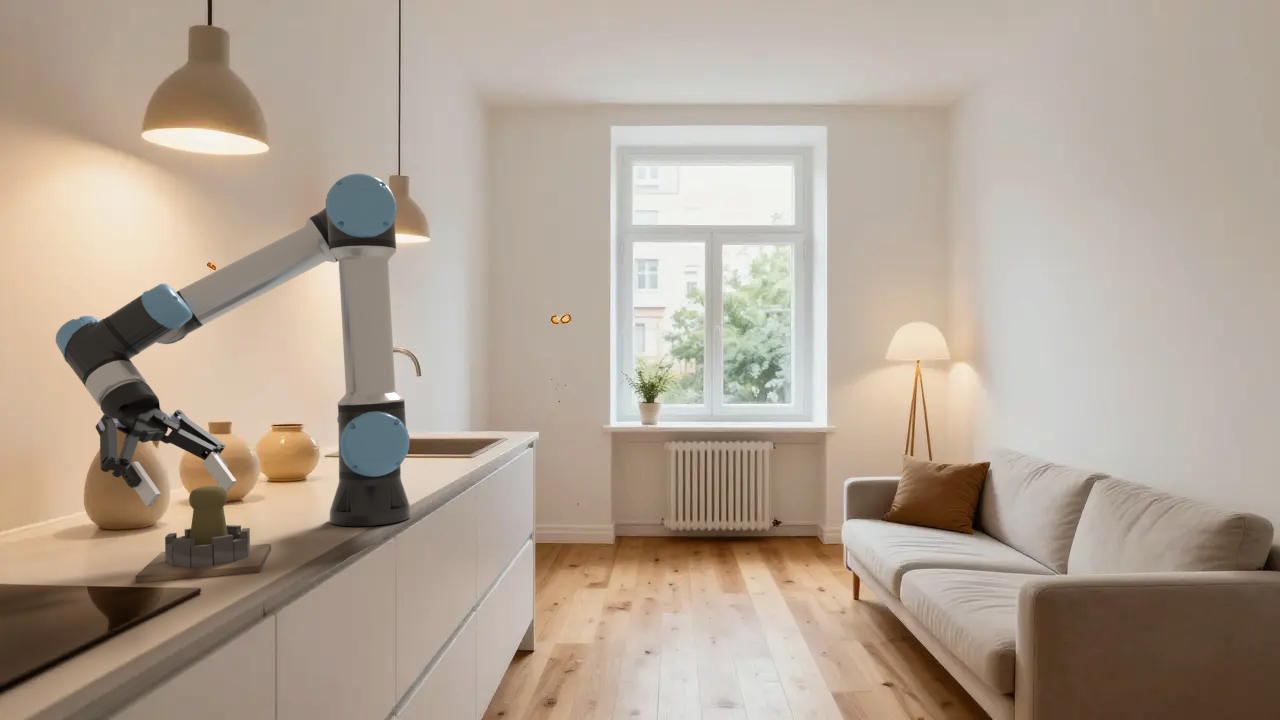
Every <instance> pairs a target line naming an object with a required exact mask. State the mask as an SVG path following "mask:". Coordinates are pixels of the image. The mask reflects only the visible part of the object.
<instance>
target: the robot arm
mask: <svg viewBox="0 0 1280 720" xmlns="http://www.w3.org/2000/svg"><path fill="white" fill-rule="evenodd" d="M397 214H398V207H397V201H396V198H395V196H394V194H393V192H392V190H391V189H390V187H389V186H388V184H386V183H385V182H384V181H383V180H381V179H380V178H378V177H375V176H374V175H370V174H367V173H352V174H348V175H345V176H343V177H341V178H340V179H338V180H337V181H335V183H334V184H333V185H332V186H331V188H329V191H328V193H327V194H326V199H325V207H324V208H323V209H322V210H321V211H318V212H317V213H316V214H314V215H311V216H310V217H308V218H307V219H306V222H305V225H304V226H303V227H300V228H299V229H297V230H295V231H293V232H291V233H288V234H287V235H285V236H283V237H281V238H279V239H278V240H275V241H273V242H271V243H269V244H268V245H264V246H263V247H261V248H259V249H258V250H255V251H254V252H253V251H252V252H251V253H249V254H248V255H245V256H243V257H242V258H240V259H238V260H235V261H234V262H232V263H230V264H228V265H226V266H224V267H222V268H220V269H218V270H216V271H214V272H213V273H210V274H208V275H206V276H204V277H202V278H200V279H199V280H197V281H194V282H193V283H191V284H189V285H186V286H185V287H183V288H181V289H179V290H178V291H176V290H175V289H173V288H172V287H171V286H170V285H169V284H167V283H159V284H158V285H156V286H154V287H152V288H151V289H149V290H145V291H144V292H143V293H142V294H141V295H139V296H137V297H136V298H134V299H133V300H131V301H130V302H128V303H127V304H125V305H124V306H122V307H120V308H119V309H118V310H116V311H114V312H113V313H111V314H109V315H108V316H106V317H105V318H101V319H100V318H98V317H95V316H92V315H82V316H80V317H79V318H76V319H75V318H73V319H70V320H68V321H66V322H65V323H64V324H62V326H61V327H59V329H58V330H57V332H56V335H55V344H56V346H57V348H58V349H59V351H60V353H61V354H62V357H63V358H64V361H65V362H66V363H67V364H68V365H69V367H70V368H71V369H72V371H73V372H74V374H75V375H76V376H77V377H78V379H79V380H80V381H81V383H82V384H83V386H84V387H85V388H86V390H87V391H88V393H89V394H90V396H91V398H92V399H93V400H94V402H95V403H96V404H97V405H98V407H100V411H101V412H102V413H103V415H102V416H101V418H100V419H99V421H98V422H97V424H96V425H95V429H96V431H97V433H98V435H99V449H100V451H99V452H100V456H99V457H100V470H101V471H102V472H104V473H109V472H110V471H112V473H111V474H112V476H113V477H115V478H121V477H122V479H123V480H124V481H125V483H126V484H127V485H128V487H129V488H131V489H132V488H133V489H134V491H135V492H136V494H137V495H138V496H139V497H140V500H142V502H143V503H144V505H145V506H146V507H148V508H149V507H152V506H153V505H154V503H155V502H156V500H157V499H158V498H159V497H160V496H161V494H162V493H161V492H160V490H159V489H158V487H157V486H156V485H155V483H154V482H153V480H152V479H151V477H150V475H148V473H147V472H146V470H145V469H144V468H143V466H142V464H141V463H140V462H139V461H133V462H132V460H133V457H134V454H135V452H136V448H137V446H138V442H141V443H147V442H162V443H164V444H166V445H168V444H172V445H174V446H176V447H178V448H180V449H182V450H183V451H185V452H187V453H190V454H191V455H193V456H195V457H198V458H200V459H202V460H203V462H202V464H203V466H204V467H205V469H206V470H207V472H208V473H209V474H210V476H211V477H212V478H213V480H214V481H215V483H216V484H217V485H218V487H222V488H224V489H225V490H226V492H227V493H228V492H229V491H230V490H231V488H233V486H234V485H235V484H236V483H237V479H236V478H235V476H233V474H232V472H231V471H230V470H229V466H228V465H227V463H226V462H225V460H224V459H223V458H222V456H221V454H222V452H223V451H224V450H225V448H226V444H225V443H224V442H222V441H221V440H220V439H218V438H217V437H215V436H213V434H211V433H209V432H208V431H206V430H205V429H204V428H203V427H201V426H200V425H198V424H197V423H195V422H194V421H192V420H191V419H190V418H189V417H187V415H186V414H185V412H183V411H182V410H180V409H175V411H174V413H172V414H167V413H166V412H164V411H163V410H162V409H161V406H160V399H159V397H158V396H157V394H156V393H155V392H154V391H153V389H152V388H151V387H150V385H149V384H148V383H147V381H146V379H145V378H144V377H143V375H142V374H141V373H140V371H139V370H138V368H137V367H136V366H135V364H134V363H133V362H132V361H131V359H132V358H133V357H135V356H137V355H139V354H140V353H142V352H143V351H144V350H147V349H148V348H150V347H151V346H153V345H154V344H162V345H170V344H175V343H177V342H179V341H182V340H183V339H185V337H186V336H187V335H188V334H190V333H192V332H194V331H196V330H198V329H200V328H201V327H202V326H204V325H206V324H209V323H210V322H212V321H214V320H216V319H218V318H220V317H221V316H224V315H226V314H227V313H230V312H232V311H233V310H235V309H237V308H239V307H241V306H243V305H245V304H246V303H249V302H250V301H252V300H254V299H257V298H258V297H260V296H262V295H265V294H266V293H268V292H269V291H271V290H274V289H276V288H277V287H279V286H281V285H283V284H286V283H287V282H289V281H290V280H292V279H294V278H296V277H298V276H300V275H302V274H304V273H306V272H309V271H310V270H311V269H313V268H316V267H317V266H320V265H322V264H323V263H325V262H331V263H334V264H335V263H336V262H338V272H339V289H340V290H339V292H340V306H341V307H340V309H341V327H342V330H341V331H342V346H343V347H342V348H343V360H344V361H343V362H344V363H343V365H344V380H345V381H344V383H345V394H344V395H343V396H342V398H341V399H340V400H339V401H338V402H337V409H338V410H337V415H338V416H337V419H336V420H337V423H338V424H337V425H338V485H337V487H336V491H335V494H334V497H333V500H332V503H331V506H330V509H329V523H330V524H332V525H335V526H342V527H343V526H345V527H370V526H381V525H389V524H395V523H399V522H404V521H406V520H408V519H410V517H411V505H410V502H409V499H408V496H407V493H406V491H405V488H404V485H403V482H402V477H401V475H402V474H401V473H402V472H401V465H402V464H403V462H404V461H405V459H406V457H407V455H408V453H409V450H410V443H411V439H410V434H409V433H408V428H407V424H406V423H407V421H406V406H405V404H406V403H405V398H404V397H403V396H402V395H401V394H400V393H399V392H398V391H397V390H396V380H395V379H396V377H395V363H394V362H395V359H394V343H393V325H392V324H393V323H392V309H391V308H392V307H391V306H392V305H391V288H390V271H389V270H390V269H389V262H390V261H389V260H390V259H391V258H392V257H393V256H395V254H396V252H397V240H396V220H395V219H396V217H397ZM169 429H170V430H171V431H170V432H169V433H168V430H169ZM117 431H119V432H121V433H123V434H124V435H125V438H124V441H123V443H122V444H123V445H122V449H121V451H120V454H119V455H118V437H117V436H118V435H117V434H118V433H117ZM167 433H168V435H166V434H167ZM131 462H132V463H131Z"/></svg>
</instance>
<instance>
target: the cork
mask: <svg viewBox="0 0 1280 720" xmlns="http://www.w3.org/2000/svg"><path fill="white" fill-rule="evenodd" d="M227 501H228V492H226V490H225V489H224V488H222V487H219V485H218V486H217V485H207V486H206V485H205V486H201V487H197V488H194V489H192V491H191V492H190V494H189V497H188V503H189V505H190V507H191V508H192V509H193V510H192V518H191V527H190V528H191V532H190V539H195V545H209V544H211V538H212V537H219V536H225V535H228V534H227V527H226V525H227V523H226V516H225V509H224V507H225V506H226V503H227Z"/></svg>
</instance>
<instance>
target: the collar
mask: <svg viewBox="0 0 1280 720" xmlns="http://www.w3.org/2000/svg"><path fill="white" fill-rule="evenodd" d="M226 527H227V534H228V535H225V536H219V537H212V538H211V544H209V545H195V539H190V532H191V527H190V528H185V529H184V535H183V536H179V537H178V533H177V532H173V533H172V532H171V533H170V532H169V533H167V535H165V537H164V540H165V542H164V544H165V545H164V546H165V548H164V550H165V551H161V552H160V553H159V554H158V555H157V556H156V557H155V558H154V557H153V559H152V560H151V561H150V562H149V563H148V564H147V565H146V566H144V567H143V568H142V569H141V570H140V571H139V572H138V573H136V574H135V584H136V583H137V584H138V583H149V582H151V583H152V582H161V581H172V580H173V581H174V580H184V579H196V578H207V577H218V576H221V577H222V576H230V575H231V576H232V575H242V574H243V575H244V574H255V573H256V574H257V573H260V572H261V571H262V568H263V567H264V564H265V562H266V560H267V558H268V556H269V555H270V552H271V550H272V543H264V544H263V543H259V544H251V542H250V541H251V539H250V538H251V537H250V536H251V535H250V534H251V532H250V531H251V530H250V529H251V527H246V528H245V527H244V528H242V525H235V524H230V525H229V524H226Z"/></svg>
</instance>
